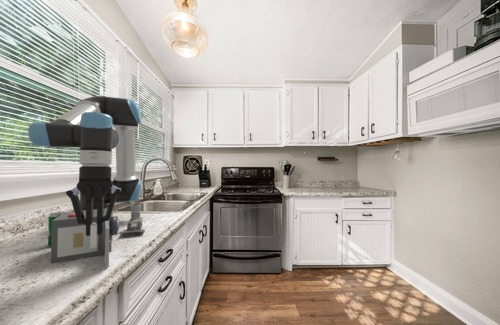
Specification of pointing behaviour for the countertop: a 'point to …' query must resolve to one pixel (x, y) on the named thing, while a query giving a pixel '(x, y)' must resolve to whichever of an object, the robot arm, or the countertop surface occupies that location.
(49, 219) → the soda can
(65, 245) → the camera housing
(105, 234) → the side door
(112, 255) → the countertop surface
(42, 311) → the countertop surface
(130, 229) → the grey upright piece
